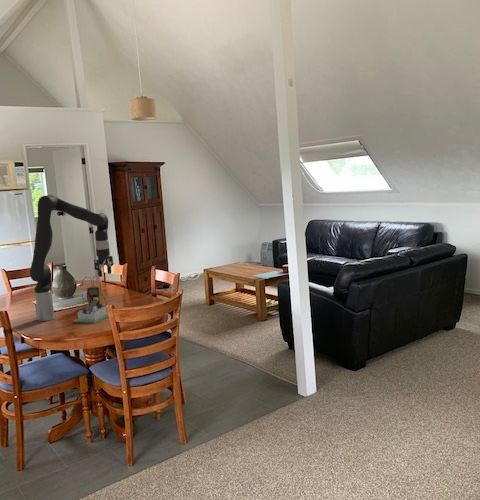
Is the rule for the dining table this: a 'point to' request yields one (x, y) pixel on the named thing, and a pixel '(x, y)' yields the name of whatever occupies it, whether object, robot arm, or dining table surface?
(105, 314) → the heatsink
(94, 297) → the lever
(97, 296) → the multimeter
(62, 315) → the dining table surface
